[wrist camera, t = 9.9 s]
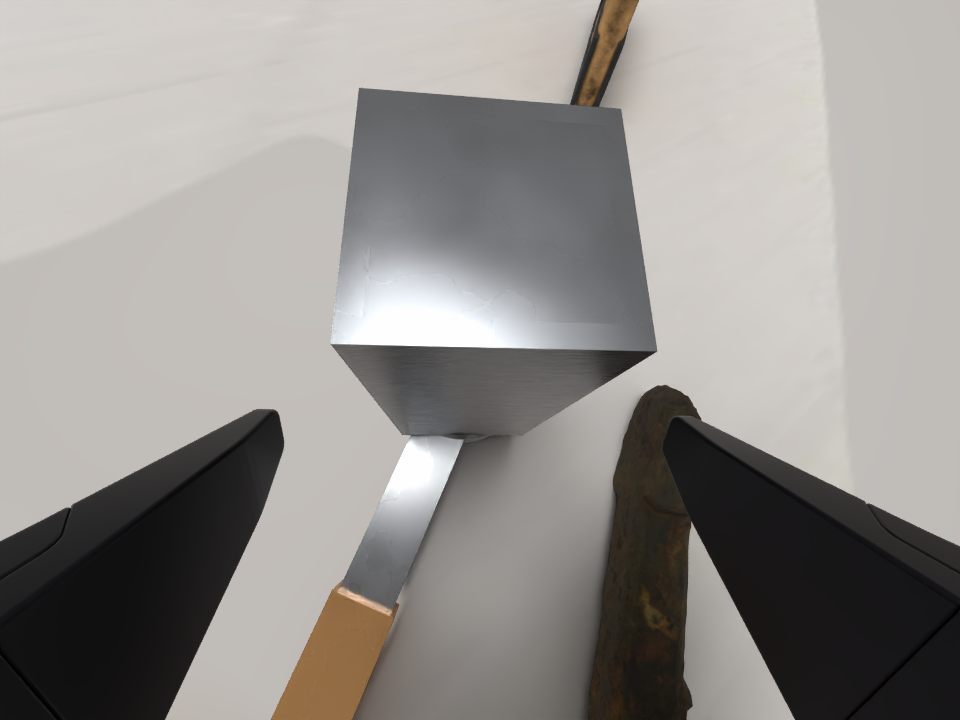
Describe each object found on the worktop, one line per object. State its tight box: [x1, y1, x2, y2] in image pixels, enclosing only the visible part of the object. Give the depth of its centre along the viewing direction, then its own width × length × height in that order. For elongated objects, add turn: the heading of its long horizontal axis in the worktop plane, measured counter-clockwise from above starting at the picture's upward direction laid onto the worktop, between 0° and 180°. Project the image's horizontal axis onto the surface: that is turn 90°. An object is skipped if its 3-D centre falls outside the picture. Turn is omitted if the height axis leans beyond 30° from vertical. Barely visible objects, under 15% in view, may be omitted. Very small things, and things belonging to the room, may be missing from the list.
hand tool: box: [588, 385, 701, 720], centre depth 17 cm, size 19×4×5 cm, turn 165°
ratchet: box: [271, 435, 490, 720], centre depth 17 cm, size 22×6×5 cm, turn 157°
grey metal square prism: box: [331, 88, 657, 435], centre depth 14 cm, size 6×6×12 cm
